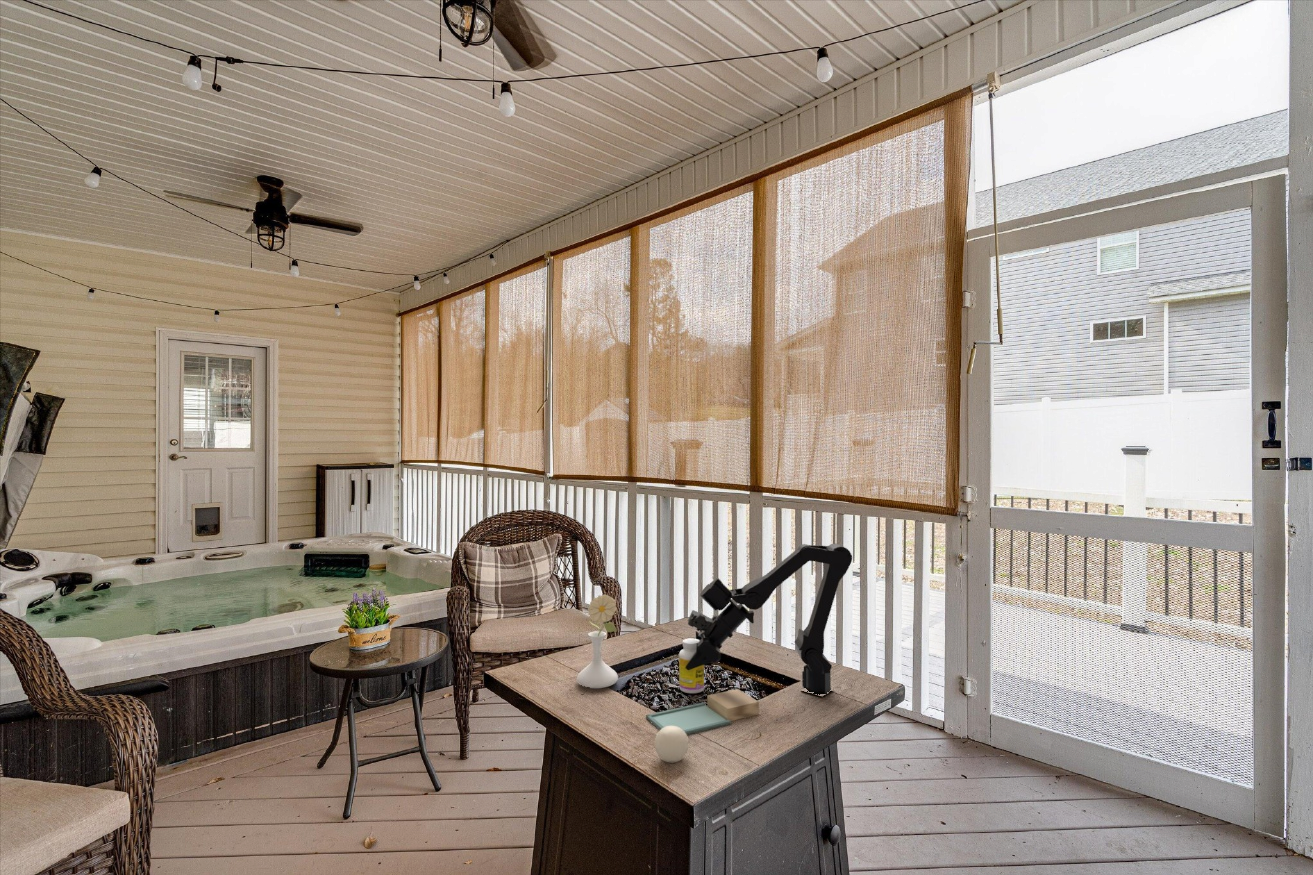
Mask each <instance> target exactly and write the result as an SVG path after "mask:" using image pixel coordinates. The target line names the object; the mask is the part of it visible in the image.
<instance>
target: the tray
mask: <svg viewBox="0 0 1313 875" xmlns="http://www.w3.org/2000/svg"><path fill="white" fill-rule="evenodd" d="M646 718H647V719H648V720H647V719H646ZM645 719H646V720H647V721H649V720H650V721H649V722H650V723H651V722H652V723H651V724H652V725H653V726H654V727H656V729H658V730H659V731H660V730H661V729H662V728H664V727H666V726H677V727H679V728H681V729H682V730H683V731H684V732H685V733H686V735H687V736H688V735H692V734H696V733H697V734H698V733H701V732H704V731H708V730H713V729H717V728H721V727H722V728H723V727H725V726H730V725H731V721H730V720H726V719H724V718H723V717H722V716H720V715H719V714H717V713H716V712H714V711H713V710H712V709H710V708H709V707H708V706H707V705H706V703H705V702H698V703H695V704H690V705H687V706H680V707H677V708H671V709H667V710H663V711H657V712H653V713H649V714H645Z"/></svg>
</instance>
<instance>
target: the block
mask: <svg viewBox="0 0 1313 875" xmlns="http://www.w3.org/2000/svg"><path fill="white" fill-rule="evenodd" d="M706 699H707V701H706V702H707V705H706V706H707V707H709V708H710V709H712V710H713V711H714V712H716V713H717V714H719V715H720V716H722V717H723V718H724V719H726V720H730V722H733V721H735V720H736V721H737V720H740V719H744V718H749V717H752V716H758V715H760V710H759V709H760V708H759V707H760V701H758V700H756V699H755V698H753V697H752V696H750V695H748V694H746V693H745V692H743V691H742V690H740V689H738V688H737V689H732V690H727V691H723V692H718V693H713V694H708V695H707V698H706Z"/></svg>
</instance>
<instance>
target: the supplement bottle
mask: <svg viewBox="0 0 1313 875" xmlns="http://www.w3.org/2000/svg"><path fill="white" fill-rule="evenodd" d="M699 641H700V640H698V639H696V638H689V637H688V638H685V639H683V640H682V647H683V649H681V650H680V651H679V653H678V654H679V655H678V663H679V664H678V668H679V674H678V675H679V676H678V678H679V682H678V683H679V684H678V685H679V689H680V691H681V692H683V693H687V694H699V693H701V692H703V691H704V690H705V665H702V666H699V667H696V668H693V669H691V670H687V669H686V668H685V667H686V665H687V664H688V662H689V661H690V659H691V658H692V656H693V655H694V654H695V652H696V643H699Z"/></svg>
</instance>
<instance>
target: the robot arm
mask: <svg viewBox="0 0 1313 875" xmlns="http://www.w3.org/2000/svg"><path fill="white" fill-rule="evenodd" d="M852 560H853V554H852V553H851V551H850V550H849V549H848V548H847V547H845V546H843V545H841V544H839V543H830V544H829V545H813V544H806V543H803V544H800V545H799V546H798V547H797V548H796V549H795V550H794V551H793V552H792V553H790V554H789V555H788V556H787V557H786V558H784V559H783V560H782V561H781V562H780V563H778V564H777V565H776V566H774V568H772V569H771V570H769V572H767V573H766V574H765V575H763V576H761V577H758V578H756V579H753V580H752V581H750V582H748V583H746V584H745V585H744V586H743V587H740V588H734V589H729V587H727V586H726V585H725V584H724V583H723V582H722V580H721V579H720V578H719V577H717V578H715V579H714V580H713V581H711V582H710V583H708V584H707V585H705V587H704V588H703V589H702V590H701V592H700V594H699V597H700V598H701V599H703V601H705V603H707V605H709V606H710V607H711V608H712V609H713V610H714V611H719V612H720V611H721V612H720V613H719V614H718V615H713V616H712V617H710V616H709V617H708V616H707V615H705V614H703V613H700V612H698V611H696V610H693V609H692V610H691V613H690V615H689V616H688V617H689V618H687V619H688V620H687V625H688V626H690V627H692V628H696V631H695V639H698V640H700V641H699V643H696V652H695V654H694V655H693V656H692V658H691V659H690V661H689V662H688V664H687V665H686V667H685V668H686V669H687V670H691V669H693V668H696V667H699V666H702V665H704V666H705V665H708V664H711V663H713V664H715V665H716V664H717V663H718V662H719V661H720V660H721V659H722V655H721V654H722V653H721V648H722V647H723V646H722V645H723V644H724V643H725V641H726V640H727V639H728V638H729V639H731V638H732V637H733V636H734V635H733V633H734V632H735V631H736V630H737V629H738V628H739V627H740V626H741V625H742V624H743V623H744V622H745V621H746V620H748V622H750V623H751V624H754V623H755V621H754V620H755V619H754V618H755V617H754V616H755V612H754V611H753V610H755V611H756V610H759V609H760V608H762V607H763V605H764V604H765V603H766V602H767V601H768V600H769V599H770V598H771V596H772V595H773V592H774V591H775V590H776V589H777V588H778V587H779V586H780V585H781V584H783V583H784V582H785V581H786V580H787V579H789V578H790V577H792V575H794V574H795V573H796V572H797V571H798V570H800V569H801V568H802V567H803V566H805V565H806V564H808V563H809V562H816V563H820V564H821V563H822V578H821V582H820V584H819V586H818V587H819V588H818V590H817V591H818V592H817V595H816V597H815V601H814V603H813V608H812V611H811V614H810V617H809V620H808V624H807V626H806V627H805V628H804V630H803V629H801V628H799V629H798V631H797V632H798V633H797V637H796V639H795V640H794V644H795V650H796V652H797V654H798V656H799V657H800V660H801V661H802V662H803V663H804V664H805V665H803V671H801V677H802V679H801V680H802V684H801V686H802V688H806V689H807V690H808V691H809V692H814V693H813V694H817V695H818V694H819V695H820V694H827V692H829V691H830V690H831V688H832V686H831V685H832V684H831V683H832V682H831V679H832V677H831V674H832V672H831V670H832V667H833V666H832V664H831V663H830V661H829V659H828V658H827V657H826V656H825V655H824V649H825V630H826V628H827V623H828V621H829V620H828V619H829V617H830V614H831V610H832V607H833V604H834V601H835V596H836V594H837V590H838V588H839V587H838V586H839V583H840V582H841V580H842V578H844V577H845V574H847V572H848V570H849V568H850V566H851V563H852ZM748 609H749V610H748ZM808 691H807V692H808Z"/></svg>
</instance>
